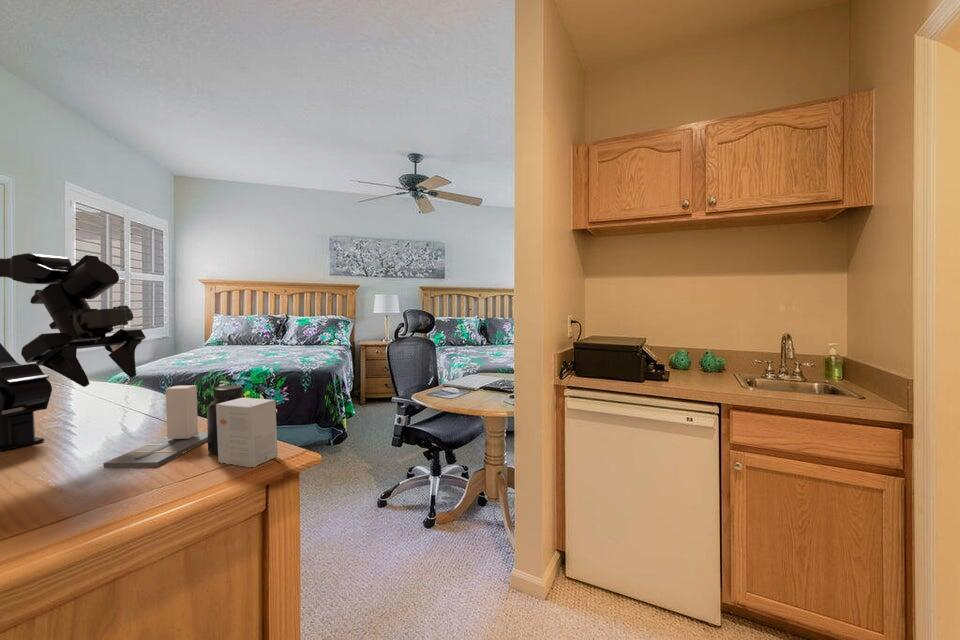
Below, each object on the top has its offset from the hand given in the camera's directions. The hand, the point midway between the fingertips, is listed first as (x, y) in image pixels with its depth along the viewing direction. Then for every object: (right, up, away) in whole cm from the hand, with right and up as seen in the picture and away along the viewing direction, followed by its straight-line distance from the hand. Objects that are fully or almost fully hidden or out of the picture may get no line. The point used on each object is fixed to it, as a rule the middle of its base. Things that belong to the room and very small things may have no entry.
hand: (111, 381), depth 80 cm
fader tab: (+11, -12, +4) cm, 17 cm away
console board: (+11, -13, 0) cm, 17 cm away
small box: (+30, -13, -6) cm, 34 cm away
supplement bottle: (+23, -13, -1) cm, 27 cm away
